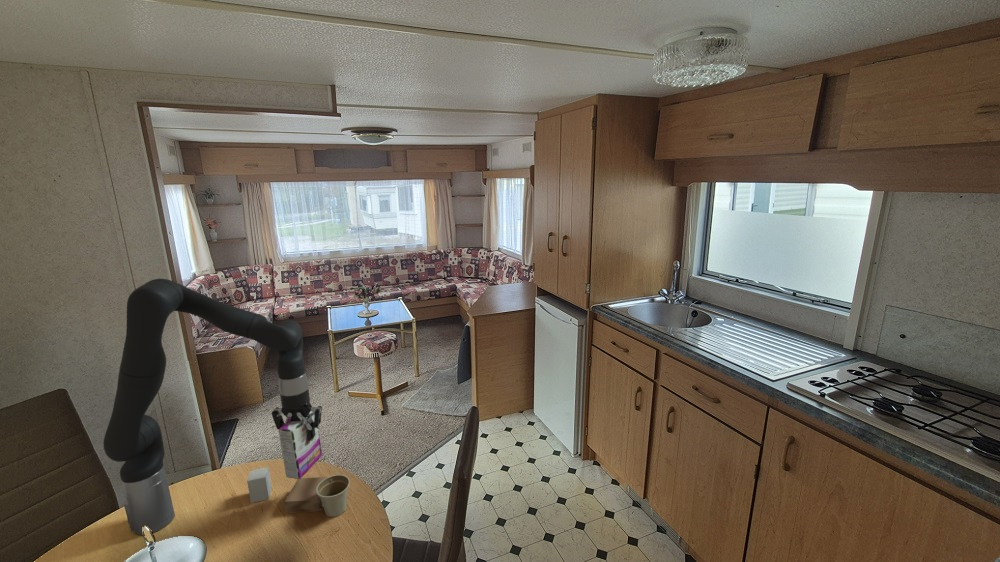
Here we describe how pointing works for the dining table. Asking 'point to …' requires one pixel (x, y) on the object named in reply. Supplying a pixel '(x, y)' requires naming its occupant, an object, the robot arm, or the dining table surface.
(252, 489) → the grey block
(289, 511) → the brown square block
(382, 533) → the dining table surface
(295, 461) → the candy bar box
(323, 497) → the flower pot
